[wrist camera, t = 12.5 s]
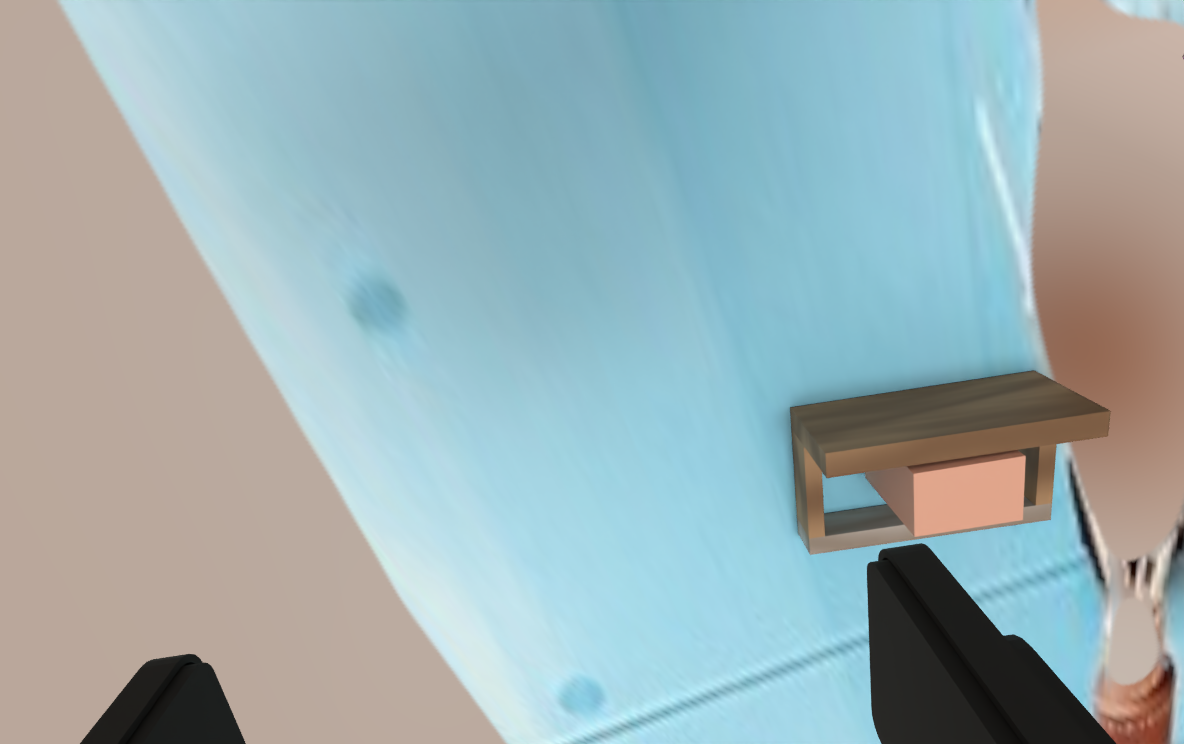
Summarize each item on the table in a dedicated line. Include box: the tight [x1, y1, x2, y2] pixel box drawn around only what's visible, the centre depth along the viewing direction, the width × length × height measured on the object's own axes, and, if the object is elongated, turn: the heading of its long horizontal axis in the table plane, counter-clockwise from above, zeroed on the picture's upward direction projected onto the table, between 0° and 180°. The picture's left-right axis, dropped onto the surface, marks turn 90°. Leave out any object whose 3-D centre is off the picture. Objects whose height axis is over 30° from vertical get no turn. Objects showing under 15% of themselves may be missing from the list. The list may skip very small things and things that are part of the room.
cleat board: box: [790, 371, 1111, 555], centre depth 42 cm, size 9×15×6 cm, turn 99°
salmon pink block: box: [865, 450, 1026, 537], centre depth 42 cm, size 5×6×7 cm
